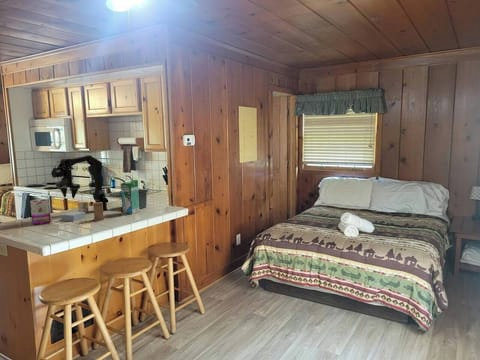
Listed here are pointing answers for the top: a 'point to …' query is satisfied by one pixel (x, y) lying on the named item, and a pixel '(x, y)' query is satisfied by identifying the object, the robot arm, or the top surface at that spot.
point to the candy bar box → (40, 211)
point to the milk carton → (130, 197)
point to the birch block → (83, 207)
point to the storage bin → (142, 198)
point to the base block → (73, 216)
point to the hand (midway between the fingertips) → (69, 197)
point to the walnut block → (98, 211)
